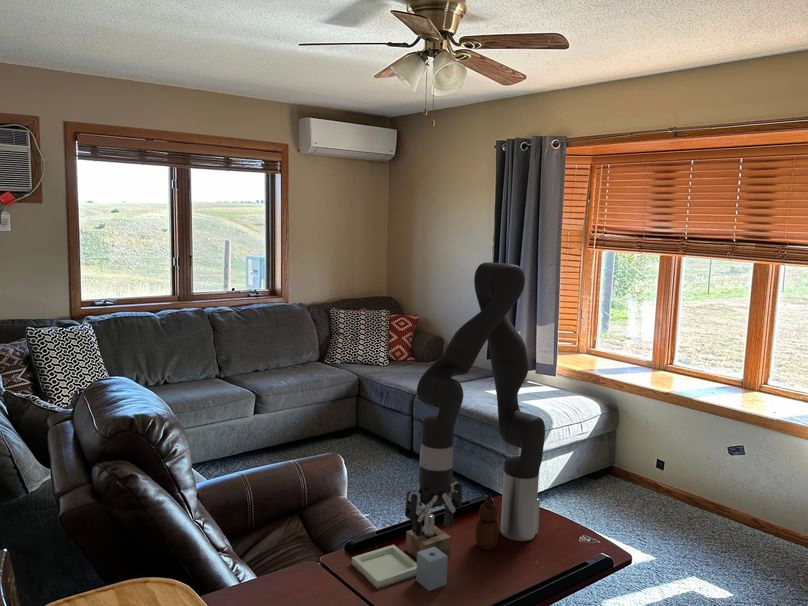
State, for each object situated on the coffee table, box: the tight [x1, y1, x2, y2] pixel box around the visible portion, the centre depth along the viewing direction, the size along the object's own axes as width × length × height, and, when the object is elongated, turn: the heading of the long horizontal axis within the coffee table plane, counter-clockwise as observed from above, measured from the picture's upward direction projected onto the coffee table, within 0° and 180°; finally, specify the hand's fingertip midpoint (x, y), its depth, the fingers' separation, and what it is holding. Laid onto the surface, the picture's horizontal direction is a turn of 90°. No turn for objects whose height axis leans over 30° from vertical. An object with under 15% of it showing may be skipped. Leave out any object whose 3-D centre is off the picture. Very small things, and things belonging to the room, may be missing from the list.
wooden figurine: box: [475, 492, 499, 551], centre depth 164 cm, size 7×6×15 cm
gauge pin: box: [423, 513, 435, 539], centre depth 160 cm, size 2×2×10 cm
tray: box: [351, 544, 417, 590], centre depth 153 cm, size 12×12×2 cm
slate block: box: [415, 547, 449, 592], centre depth 147 cm, size 5×5×7 cm
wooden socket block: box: [405, 524, 452, 560], centre depth 160 cm, size 8×8×5 cm
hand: (432, 531), depth 146 cm, fingers open, 8 cm apart
